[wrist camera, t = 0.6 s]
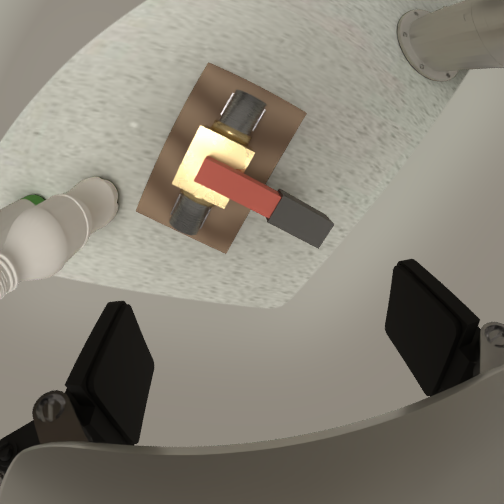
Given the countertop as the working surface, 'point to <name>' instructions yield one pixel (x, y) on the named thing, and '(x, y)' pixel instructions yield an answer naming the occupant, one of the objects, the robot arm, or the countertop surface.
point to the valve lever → (266, 201)
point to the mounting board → (204, 113)
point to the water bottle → (55, 232)
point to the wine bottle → (15, 214)
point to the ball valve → (220, 148)
